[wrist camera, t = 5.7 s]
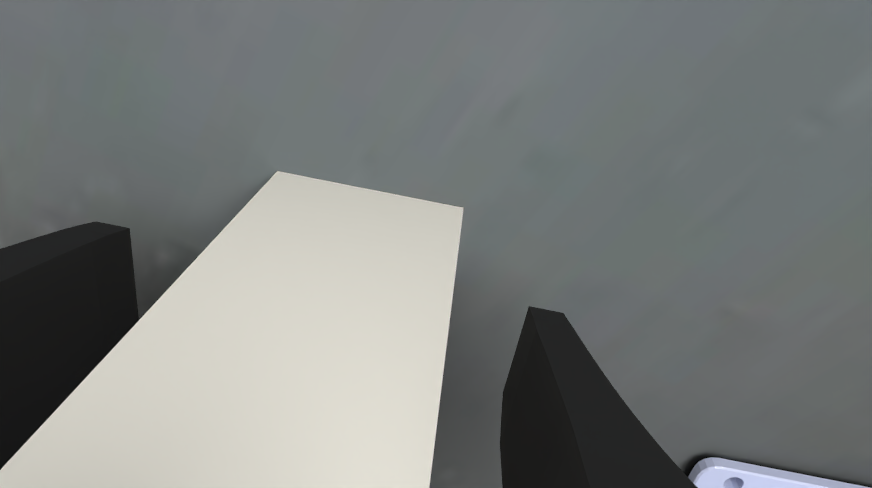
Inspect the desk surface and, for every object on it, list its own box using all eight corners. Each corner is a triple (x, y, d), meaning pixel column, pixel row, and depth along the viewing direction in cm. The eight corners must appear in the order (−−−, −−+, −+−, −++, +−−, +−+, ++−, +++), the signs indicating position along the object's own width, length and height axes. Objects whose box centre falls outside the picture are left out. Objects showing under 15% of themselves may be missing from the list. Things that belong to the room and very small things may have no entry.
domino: (463, 207, 13) (415, 600, 6) (451, 266, 14) (392, 683, 6) (277, 171, 13) (-38, 511, 6) (274, 231, 14) (-6, 605, 6)
